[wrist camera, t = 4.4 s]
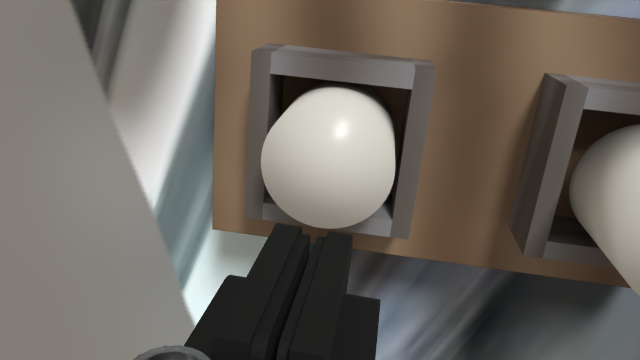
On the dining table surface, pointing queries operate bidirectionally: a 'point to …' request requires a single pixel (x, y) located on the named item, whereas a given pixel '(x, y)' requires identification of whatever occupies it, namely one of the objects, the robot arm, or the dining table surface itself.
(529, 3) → the dining table surface
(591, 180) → the knob
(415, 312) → the dining table surface
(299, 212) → the knob
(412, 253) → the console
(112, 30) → the dining table surface
